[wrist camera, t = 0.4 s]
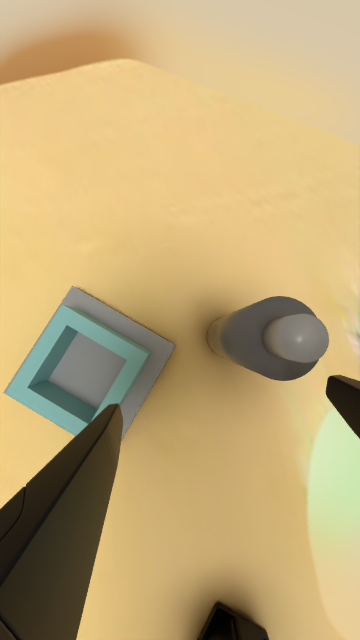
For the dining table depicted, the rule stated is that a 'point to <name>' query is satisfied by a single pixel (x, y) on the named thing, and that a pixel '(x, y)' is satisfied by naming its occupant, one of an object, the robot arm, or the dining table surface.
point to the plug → (271, 338)
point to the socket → (89, 364)
